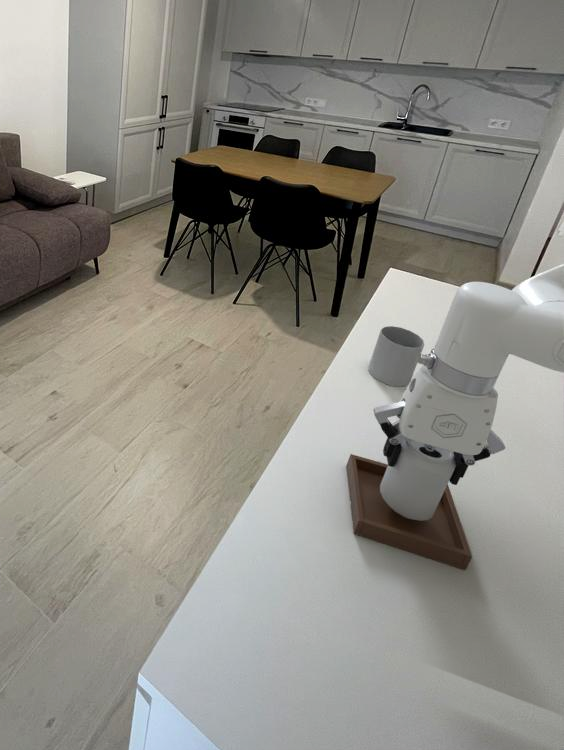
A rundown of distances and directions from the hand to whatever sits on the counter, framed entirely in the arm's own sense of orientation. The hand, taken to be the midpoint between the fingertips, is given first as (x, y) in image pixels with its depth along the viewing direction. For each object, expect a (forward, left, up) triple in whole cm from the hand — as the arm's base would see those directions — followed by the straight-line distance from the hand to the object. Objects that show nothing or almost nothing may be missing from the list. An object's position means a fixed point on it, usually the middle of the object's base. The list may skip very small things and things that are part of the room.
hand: (419, 467), depth 73 cm
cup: (-4, -39, -10) cm, 40 cm away
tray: (0, 0, -10) cm, 10 cm away
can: (0, 0, -7) cm, 7 cm away
